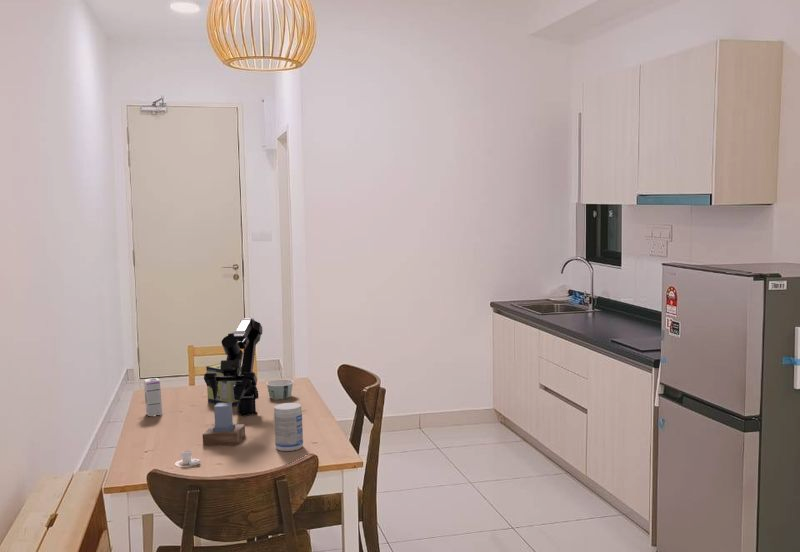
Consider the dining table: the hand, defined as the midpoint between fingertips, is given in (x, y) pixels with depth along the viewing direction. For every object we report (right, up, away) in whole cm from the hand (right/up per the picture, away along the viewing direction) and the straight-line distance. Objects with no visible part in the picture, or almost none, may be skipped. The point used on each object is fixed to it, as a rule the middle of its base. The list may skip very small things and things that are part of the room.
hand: (227, 399), depth 275 cm
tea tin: (0, -10, -5) cm, 11 cm away
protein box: (-11, -9, +50) cm, 52 cm away
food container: (+11, -8, +55) cm, 57 cm away
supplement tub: (+25, -15, -14) cm, 32 cm away
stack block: (0, -14, -4) cm, 15 cm away
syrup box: (-37, -12, +31) cm, 50 cm away
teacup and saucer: (-7, -17, -31) cm, 36 cm away
